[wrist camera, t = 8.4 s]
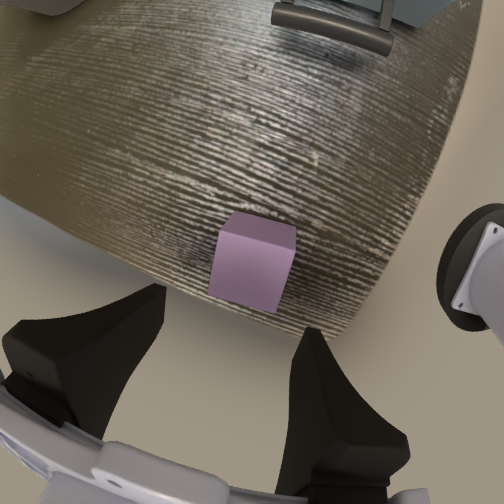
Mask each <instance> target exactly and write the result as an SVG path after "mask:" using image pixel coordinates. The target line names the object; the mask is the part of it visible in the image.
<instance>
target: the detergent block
mask: <svg viewBox="0 0 504 504" xmlns="http://www.w3.org/2000/svg"><path fill="white" fill-rule="evenodd" d="M295 253H296V227H295V226H291V225H288V224H284V223H280V222H277V221H273V220H269V219H266V218H262V217H258V216H255V215H251V214H247V213H243V212H240V211H234V212H233V214H232V215H231V216H230V218H229V219H228V220H227V221H226V223H225V224H224V225H223V227H222V228H221V229H220V231H219V235H218V240H217V245H216V250H215V255H214V260H213V265H212V271H211V276H210V281H209V286H208V292H207V294H208V295H210V296H214V297H217V298H220V299H224V300H227V301H231V302H234V303H238V304H241V305H245V306H249V307H252V308H256V309H259V310H263V311H267V312H271V313H276V310H277V307H278V305H279V302H280V299H281V296H282V293H283V290H284V287H285V284H286V281H287V277H288V274H289V271H290V268H291V265H292V262H293V259H294V256H295Z"/></svg>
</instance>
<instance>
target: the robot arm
mask: <svg viewBox="0 0 504 504" xmlns="http://www.w3.org/2000/svg"><path fill="white" fill-rule="evenodd" d="M494 228H495V231H494V232H493V230H494ZM166 289H167V287H165V286H162V285H159V284H156V283H154V284H151V285H149V286H147V287H145V288H143V289H141V290H139V291H137V292H135V293H133V294H131V295H129V296H127V297H125V298H123V299H120V300H118V301H115V302H113V303H111V304H108V305H106V306H103V307H101V308H98V309H95V310H92V311H89V312H85V313H81V314H76V315H72V316H67V317H61V318H53V319H41V320H21V321H19V322H18V323H17V324H16V325H15V326H14V327H13V328H11V329H10V330H9V331H8V332H7V333H6V334H5V335H4V336H3V338H2V346H3V349H4V352H5V354H6V357H7V359H8V362H9V364H10V367H11V369H12V371H13V372H12V373H11V374H10V375H9V376H8V377H7V378H6V379H5V378H4V376H3V373H2V371H1V369H0V445H1V446H2V447H4V448H5V449H6V450H7V451H9V453H10V454H12V455H13V456H14V457H15V458H16V459H18V460H19V461H20V462H21V463H22V464H24V465H25V466H26V467H28V468H29V469H30V470H31V471H33V472H34V473H35V474H37V475H38V476H39V477H41V478H42V479H44V480H45V481H46V482H48V484H47V486H46V487H45V489H44V491H43V493H42V494H41V496H40V498H39V500H38V501H37V503H36V504H430V502H429V496H428V490H427V488H419V489H410V490H404V491H401V492H399V493H397V494H395V495H393V496H392V497H391V498H387V489H386V487H388V486H389V485H390V476H391V475H393V474H394V473H395V472H397V471H398V470H399V469H401V468H402V467H403V466H404V465H405V464H406V463H407V462H408V460H409V459H410V449H409V444H408V440H407V437H406V435H405V434H404V433H402V432H401V431H400V430H398V429H397V428H395V427H394V426H392V425H391V424H390V423H388V422H387V421H386V420H385V419H384V418H382V417H381V416H380V415H379V414H378V413H377V412H376V411H375V410H373V408H372V407H371V406H370V405H369V404H368V403H367V402H366V401H365V400H364V399H363V398H362V397H361V396H360V395H359V393H358V392H357V391H356V390H355V388H354V387H353V386H352V384H351V383H350V382H349V380H348V379H347V378H346V376H345V375H344V373H343V371H342V370H341V368H340V367H339V365H338V364H337V362H336V360H335V358H334V356H333V354H332V352H331V351H330V349H329V347H328V345H327V343H326V341H325V339H324V337H323V335H322V333H321V331H320V330H319V329H315V328H310V327H306V329H305V332H304V334H303V336H302V339H301V341H300V343H299V346H298V348H297V350H296V352H295V355H294V357H293V359H292V365H291V372H290V381H289V421H288V431H287V437H286V443H285V449H284V454H283V460H282V464H281V469H280V474H279V478H278V483H277V486H276V490H275V494H270V493H264V492H258V491H252V490H247V489H242V488H237V487H233V486H229V485H228V484H227V482H225V481H224V480H222V479H220V478H219V477H217V476H215V475H212V474H209V473H207V472H204V471H201V470H197V469H194V468H191V467H187V466H184V465H181V464H178V463H175V462H172V461H169V460H166V459H164V458H161V457H158V456H155V455H153V454H150V453H148V452H145V451H143V450H140V449H138V448H135V447H132V446H130V445H127V444H124V443H121V442H118V441H108V442H104V441H102V438H103V436H104V433H105V430H106V427H107V425H108V423H109V420H110V418H111V415H112V413H113V411H114V408H115V406H116V404H117V402H118V399H119V397H120V395H121V393H122V391H123V389H124V387H125V385H126V383H127V381H128V379H129V378H130V376H131V374H132V373H133V371H134V370H135V368H136V367H137V365H138V364H139V362H140V361H141V359H142V358H143V357H144V355H145V354H146V352H147V350H148V349H149V348H150V346H151V345H152V343H153V342H154V340H155V339H156V337H157V335H158V333H159V330H160V329H161V327H162V325H163V322H164V312H165V300H166ZM460 303H461V304H460ZM459 304H460V305H459ZM451 306H452V307H453V308H454V309H457V310H461V311H464V312H468V313H472V314H475V315H479V316H481V317H482V318H483V320H484V321H485V322H486V324H487V325H488V326H489V328H490V329H491V330H492V332H493V333H494V334H495V336H496V337H497V339H498V340H499V342H500V343H501V344H502V346H503V347H504V228H502V227H501V226H499V225H497V224H495V223H493V222H488V223H487V224H486V226H485V229H484V232H483V234H482V237H481V239H480V242H479V244H478V246H477V249H476V251H475V253H474V256H473V258H472V260H471V263H470V265H469V267H468V269H467V271H466V273H465V275H464V277H463V280H462V282H461V284H460V286H459V288H458V290H457V291H456V293H455V295H454V297H453V299H452V301H451Z"/></svg>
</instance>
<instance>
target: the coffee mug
mask: <svg viewBox="0 0 504 504" xmlns="http://www.w3.org/2000/svg"><path fill="white" fill-rule="evenodd" d="M83 1H84V0H0V4H1V5H6V6H12V7H16V8H21V9H26V10H30V11H34V12H38V13H42V14H46V15H50V16H55V15H60V14H63V13H65V12H68V11H70V10H72V9H73V8H75V7H76V6H78V5H79V4H81V3H82V2H83Z"/></svg>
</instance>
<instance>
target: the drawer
mask: <svg viewBox="0 0 504 504" xmlns="http://www.w3.org/2000/svg"><path fill="white" fill-rule="evenodd" d="M343 1H346V2H350V3H353V4H356V5H359V6H362V7H365V8H368V9H371V10H374V11H377V12H379V18H378V23H377V28H375V27H372V26H369V25H366V24H364V23H361V22H358V21H354V20H351V19H348V18H345V17H342V16H338V15H335V14H331V13H327V12H323V11H319V10H315V9H311V8H307V7H302V6H298V5H293V4H294V0H281V2H276V3H275V4H274V7H273V10H272V15H271V24H272V25H276V26H281V27H286V28H291V29H296V30H300V31H305V32H309V33H313V34H317V35H321V36H324V37H328V38H331V39H335V40H338V41H342V42H345V43H348V44H351V45H354V46H357V47H360V48H363V49H366V50H369V51H372V52H374V53H377V54H380V55H382V56H385V57H387V56H388V55H389V53H390V51H391V49H392V46H393V41H394V36H393V35H392V34H390V33H389V31H390V26H391V20H392V18H395V19H397V20H399V21H402V22H404V23H406V24H409V25H411V26H413V27H415V28H417V29H419V28H420V27H421V26H423V25H424V24H425V23H426V22H428V21H429V20H430V19H432V18H433V17H434V16H436V15H437V14H438V13H440V12H441V11H442V10H444V9H445V8H446V7H448V6H449V5H450V4H452V3H453V2H455V1H456V0H343Z"/></svg>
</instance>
